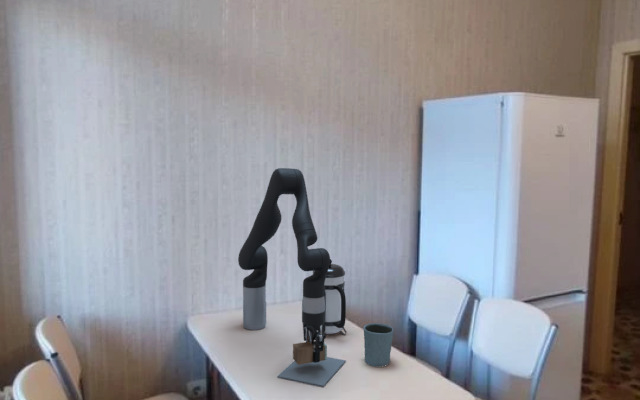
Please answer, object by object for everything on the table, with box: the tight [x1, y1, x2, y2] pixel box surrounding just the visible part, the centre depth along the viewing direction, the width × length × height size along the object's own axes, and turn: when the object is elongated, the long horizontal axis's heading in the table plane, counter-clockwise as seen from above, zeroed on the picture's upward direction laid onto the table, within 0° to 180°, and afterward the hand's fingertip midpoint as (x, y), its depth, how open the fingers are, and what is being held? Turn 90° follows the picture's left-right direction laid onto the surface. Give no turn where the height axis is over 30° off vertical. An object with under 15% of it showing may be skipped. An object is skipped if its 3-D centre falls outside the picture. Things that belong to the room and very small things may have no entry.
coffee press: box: [312, 258, 347, 340], centre depth 195 cm, size 17×16×30 cm
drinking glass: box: [363, 322, 394, 368], centre depth 171 cm, size 10×10×12 cm
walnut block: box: [292, 340, 328, 365], centre depth 164 cm, size 5×5×10 cm
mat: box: [276, 356, 346, 388], centre depth 165 cm, size 20×16×1 cm
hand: (313, 358), depth 164 cm, fingers closed on walnut block, 5 cm apart
